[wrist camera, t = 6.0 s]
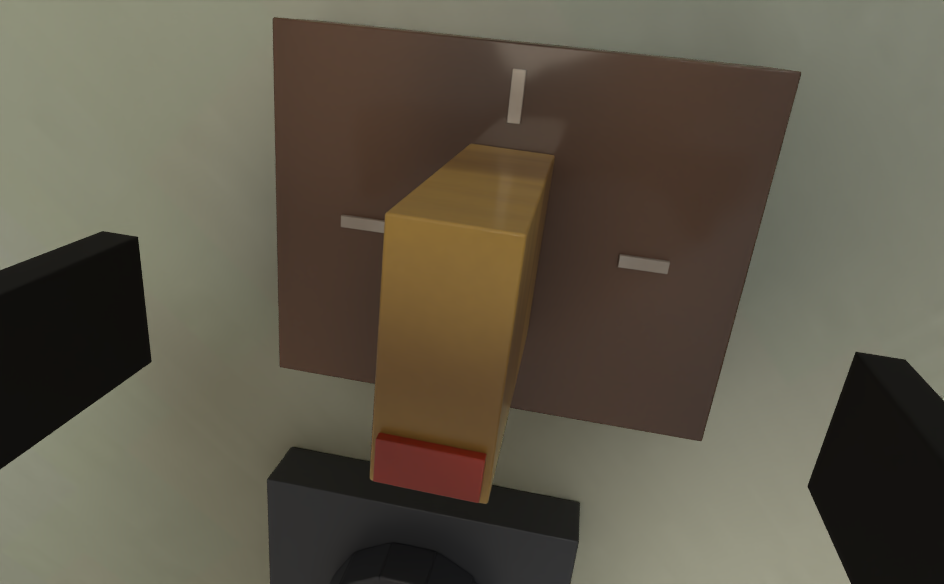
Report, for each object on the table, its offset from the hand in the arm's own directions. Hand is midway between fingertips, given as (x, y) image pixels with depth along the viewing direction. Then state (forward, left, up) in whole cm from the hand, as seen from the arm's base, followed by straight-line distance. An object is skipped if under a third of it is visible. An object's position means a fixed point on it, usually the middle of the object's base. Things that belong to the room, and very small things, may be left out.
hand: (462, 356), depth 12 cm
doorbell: (+2, +16, -11) cm, 19 cm away
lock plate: (0, 0, -11) cm, 11 cm away
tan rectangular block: (0, 0, -8) cm, 8 cm away
